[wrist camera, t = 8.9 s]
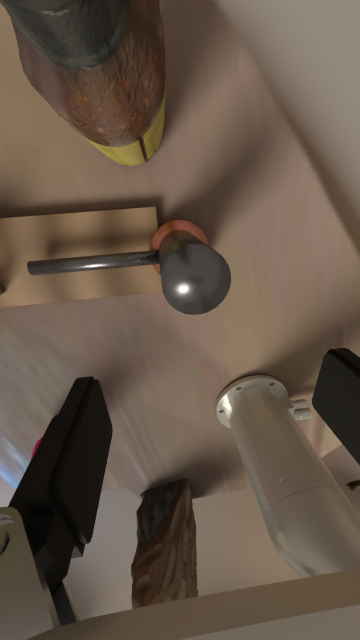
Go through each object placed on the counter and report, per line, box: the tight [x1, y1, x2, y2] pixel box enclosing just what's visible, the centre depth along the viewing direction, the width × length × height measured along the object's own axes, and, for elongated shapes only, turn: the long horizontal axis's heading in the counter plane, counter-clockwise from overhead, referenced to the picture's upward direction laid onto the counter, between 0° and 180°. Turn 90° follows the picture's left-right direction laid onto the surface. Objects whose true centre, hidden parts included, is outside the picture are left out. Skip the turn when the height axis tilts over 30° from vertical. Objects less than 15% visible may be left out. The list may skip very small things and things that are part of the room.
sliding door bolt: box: [27, 219, 231, 315], centre depth 19 cm, size 18×6×11 cm, turn 94°
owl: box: [131, 478, 198, 609], centre depth 42 cm, size 13×13×20 cm
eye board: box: [0, 207, 163, 308], centre depth 22 cm, size 22×9×6 cm, turn 94°
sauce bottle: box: [0, 0, 166, 166], centre depth 11 cm, size 7×6×20 cm
